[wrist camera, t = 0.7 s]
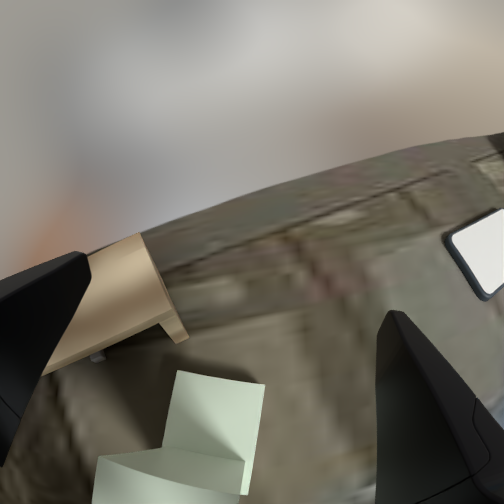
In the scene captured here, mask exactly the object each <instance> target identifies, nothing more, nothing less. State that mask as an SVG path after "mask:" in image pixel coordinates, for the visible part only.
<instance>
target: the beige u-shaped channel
mask: <svg viewBox="0 0 504 504" xmlns="http://www.w3.org/2000/svg"><path fill="white" fill-rule="evenodd" d="M88 261H89V266H90V270H91V274H92V279H91V282H90V284H89V286H88V288H87V290H86V292H85V294H84V296H83V298H82V300H81V302H80V304H79V306H78V308H77V310H76V313H75V315H74V317H73V319H72V320H71V322H70V324H69V326H68V327H67V329H66V331H65V333H64V334H63V336H62V338H61V340H60V341H59V343H58V345H57V347H56V349H55V350H54V352H53V354H52V356H51V358H50V360H49V362H48V363H47V365H46V367H45V369H44V371H43V373H42V375H41V376H44V375H46V374H48V373H51V372H53V371H55V370H57V369H60V368H62V367H64V366H66V365H69V364H71V363H73V362H75V361H78V360H80V359H82V358H84V357H86V356H90V359H91V361H93V362H95V363H98V362H100V361H103V360H105V359H106V357H105V354H104V351H103V349H104V348H106V347H108V346H110V345H113V344H115V343H117V342H119V341H121V340H123V339H126V338H128V337H130V336H132V335H134V334H136V333H138V332H141V331H143V330H145V329H147V328H149V327H151V326H153V325H155V324H158V323H159V324H160V325H161V326H162V327H163V329H164V330H165V331H166V332H167V334H168V335H169V336H170V337H171V339H172V340H173V341H174V342H175V344H177V343H180V342H182V341H184V340H186V339H188V338H190V337H189V335H188V333H187V331H186V329H185V327H184V325H183V323H182V321H181V319H180V317H179V315H178V313H177V311H176V309H175V307H174V304H173V302H172V300H171V298H170V296H169V294H168V291H167V289H166V287H165V285H164V282H163V280H162V278H161V276H160V273H159V271H158V269H157V267H156V265H155V263H154V261H153V259H152V257H151V255H150V253H149V251H148V249H147V247H146V245H145V243H144V241H143V239H142V237H141V234H140V232H138V233H136V234H134V235H132V236H130V237H127V238H125V239H123V240H121V241H119V242H117V243H115V244H113V245H111V246H109V247H107V248H105V249H103V250H100V251H98V252H96V253H94V254H92V255H90V256H88Z"/></svg>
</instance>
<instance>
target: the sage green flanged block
mask: <svg viewBox="0 0 504 504" xmlns="http://www.w3.org/2000/svg"><path fill="white" fill-rule="evenodd" d="M264 389H265V385H263V384H255V383H247V382H241V381H234V380H228V379H222V378H216V377H210V376H205V375H199V374H194V373H189V372H185V371H180V370H177V374H176V379H175V383H174V388H173V393H172V398H171V402H170V407H169V412H168V417H167V422H166V428H165V433H164V438H163V443H162V448H157V449H151V450H145V451H138V452H131V453H123V454H114V455H104V456H98V461H97V468H96V475H95V482H94V489H93V498H92V504H238V503H239V497H240V494H242V495H248V490H249V485H250V479H251V473H252V467H253V461H254V455H255V448H256V442H257V436H258V429H259V423H260V416H261V409H262V402H263V396H264Z"/></svg>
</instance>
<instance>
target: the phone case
mask: <svg viewBox="0 0 504 504" xmlns="http://www.w3.org/2000/svg"><path fill="white" fill-rule="evenodd" d="M445 246H446V248H447V250H448V251H449V253H450V254H451V256H452V257H453V259H454V260H455V262H456V263H457V265H458V266H459V268H460V269H461V271H462V272H463V274H464V276H465V277H466V279H467V281H468V282H469V284H470V285H471V287H472V289H473V290H474V292H475V294H476V296H477V297H478V298H479V299H480V300H481V301H485V302H486V301H488V300H489V299H490V298H492V297H493V296H494V295H495V294H496V293H497V292H498V291H500V290H501V289H502V288H503V287H504V208H499V209H497V210H496V211H494V212H492V213H489V214H487V215H486V216H484V217H482V218H480V219H478V220H476V221H474V222H472V223H470V224H468V225H466V226H464V227H462V228H460V229H458V230H456V231H454V232H452V233H450V234H449V235H448V236H447V238H446V239H445Z"/></svg>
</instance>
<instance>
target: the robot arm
mask: <svg viewBox="0 0 504 504" xmlns="http://www.w3.org/2000/svg"><path fill="white" fill-rule="evenodd" d="M91 279H92V274H91V270H90V266H89V261H88V257H87V255H86V254H85V253H82V252H78V251H74V252H71V253H68V254H66V255H63V256H60V257H57V258H55V259H52V260H50V261H48V262H44V263H42V264H39V265H37V266H34V267H32V268H29V269H27V270H24V271H22V272H19V273H17V274H14V275H12V276H10V277H7V278H5V279H2V280H0V467H3V465H4V463H5V460H6V457H7V454H8V451H9V449H10V446H11V443H12V441H13V438H14V436H15V433H16V431H17V428H18V426H19V423H20V421H21V418H22V416H23V413H24V411H25V409H26V407H27V404H28V402H29V400H30V398H31V396H32V394H33V391H34V389H35V387H36V385H37V383H38V381H39V379H40V377H41V375H42V373H43V371H44V369H45V367H46V365H47V363H48V362H49V360H50V358H51V356H52V354H53V352H54V350H55V349H56V347H57V345H58V343H59V341H60V340H61V338H62V336H63V334H64V333H65V331H66V329H67V327H68V326H69V324H70V322H71V320H72V319H73V317H74V315H75V313H76V310H77V308H78V306H79V304H80V302H81V300H82V298H83V296H84V294H85V292H86V290H87V288H88V286H89V284H90V282H91ZM375 392H376V415H377V475H376V495H375V504H504V430H503V428H502V427H501V426H500V425H499V424H498V423H497V421H496V420H495V419H494V418H493V417H492V415H491V414H490V413H489V412H488V410H487V409H486V408H485V407H484V405H483V404H482V403H481V401H480V400H479V399H478V398H476V395H475V394H474V393H473V391H472V390H471V389H470V388H469V386H468V385H467V384H466V383H465V382H464V380H463V379H462V378H461V377H460V375H459V374H458V373H457V372H456V371H455V369H454V368H453V367H452V366H451V365H450V364H449V362H448V361H447V360H446V359H445V358H444V357H443V355H442V354H441V353H440V352H439V351H438V350H437V348H436V347H435V346H434V345H433V344H432V343H431V342H430V340H429V339H428V338H427V337H426V336H425V335H424V334H423V333H422V332H421V330H420V329H419V328H418V327H417V326H416V325H415V324H414V323H413V322H412V321H411V319H410V318H409V317H408V316H407V315H406V314H405V313H404V312H402V311H396V310H390V311H388V313H387V314H386V316H385V318H384V321H383V323H382V325H381V327H380V329H379V331H378V334H377V352H376V380H375Z"/></svg>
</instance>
